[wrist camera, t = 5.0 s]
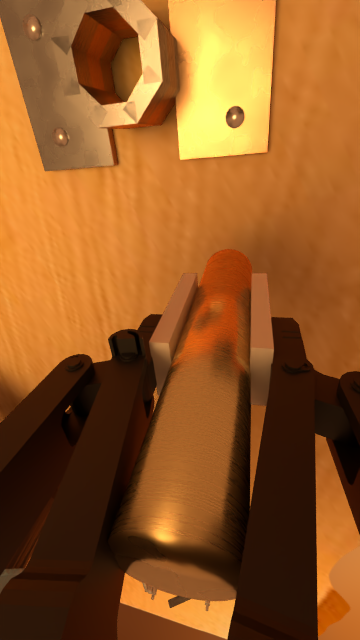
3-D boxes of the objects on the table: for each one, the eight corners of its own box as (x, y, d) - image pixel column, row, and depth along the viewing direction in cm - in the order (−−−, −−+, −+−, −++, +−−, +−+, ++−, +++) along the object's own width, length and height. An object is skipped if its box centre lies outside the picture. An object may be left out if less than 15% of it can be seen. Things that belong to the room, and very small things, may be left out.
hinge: (51, 170, 29) (7, 178, 24) (1, -8, 22) (-72, -47, 17) (266, 151, 24) (269, 156, 19) (279, -78, 18) (288, -159, 13)
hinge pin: (206, 292, 20) (120, 581, 7) (204, 249, 19) (90, 518, 6) (251, 292, 20) (246, 612, 7) (253, 248, 18) (251, 550, 5)
